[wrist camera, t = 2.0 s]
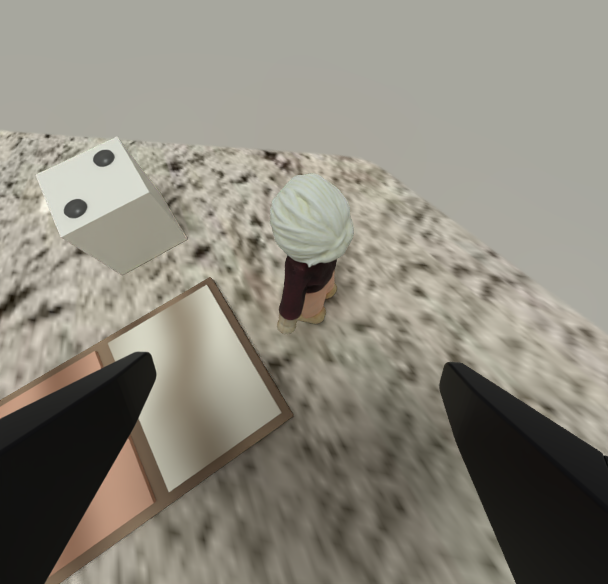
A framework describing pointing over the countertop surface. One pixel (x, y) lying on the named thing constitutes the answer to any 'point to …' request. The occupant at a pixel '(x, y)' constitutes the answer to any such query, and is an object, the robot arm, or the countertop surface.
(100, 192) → the white die
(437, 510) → the countertop surface
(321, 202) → the grandmother figurine
